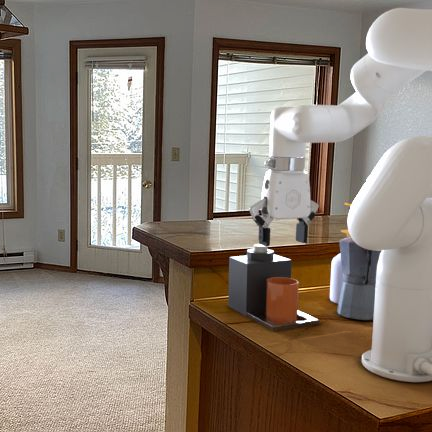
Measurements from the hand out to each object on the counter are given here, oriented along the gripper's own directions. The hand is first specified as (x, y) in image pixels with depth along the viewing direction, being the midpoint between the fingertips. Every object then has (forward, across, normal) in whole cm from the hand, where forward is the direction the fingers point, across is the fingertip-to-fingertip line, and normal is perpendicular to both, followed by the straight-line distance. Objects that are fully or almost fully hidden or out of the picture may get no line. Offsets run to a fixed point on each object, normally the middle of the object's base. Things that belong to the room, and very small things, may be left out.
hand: (282, 243), depth 122 cm
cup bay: (+17, 0, -1) cm, 17 cm away
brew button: (+4, 0, +9) cm, 9 cm away
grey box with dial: (+18, 0, +8) cm, 19 cm away
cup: (+17, 0, -1) cm, 17 cm away
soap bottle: (+18, +24, +5) cm, 30 cm away
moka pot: (+17, +18, -5) cm, 26 cm away
